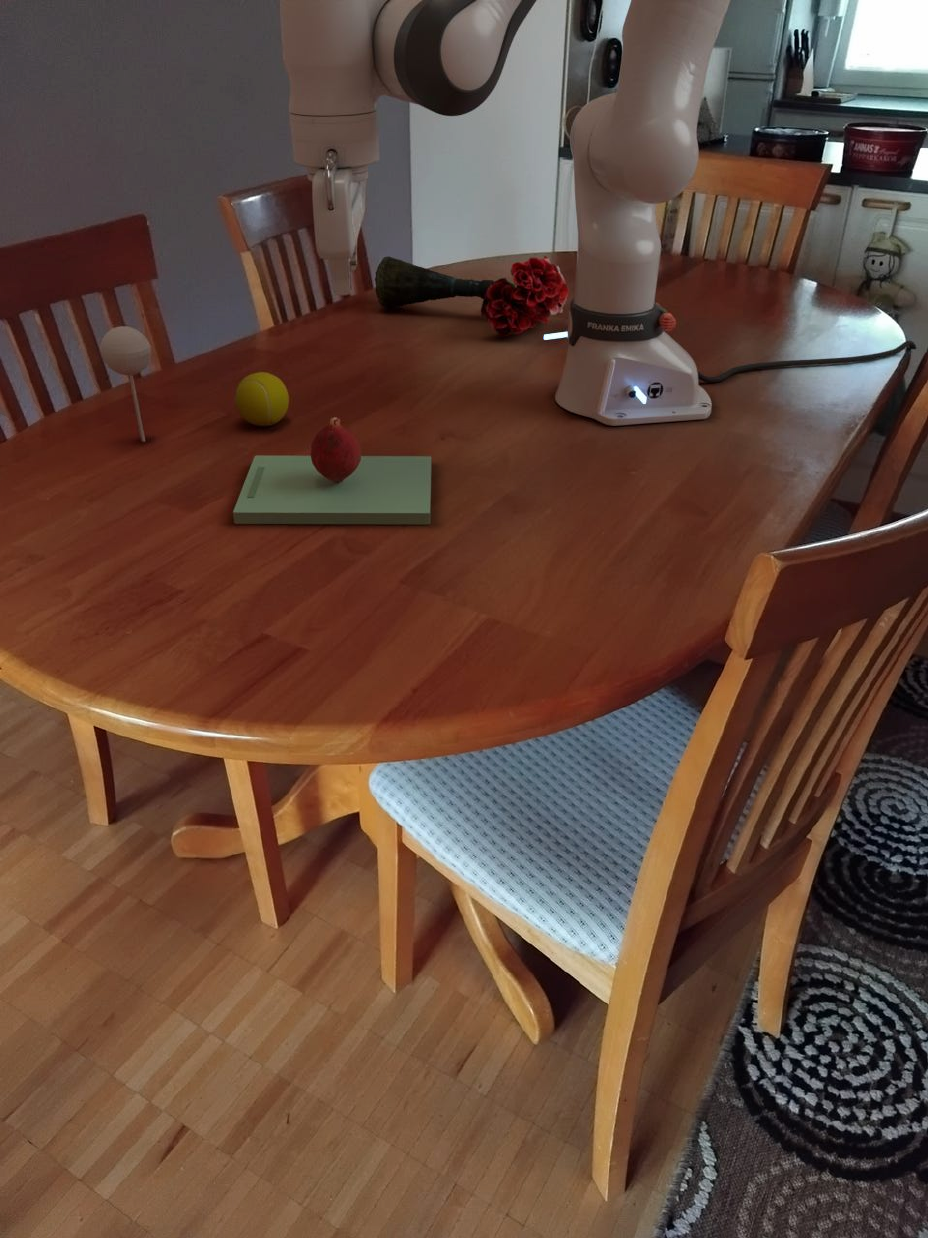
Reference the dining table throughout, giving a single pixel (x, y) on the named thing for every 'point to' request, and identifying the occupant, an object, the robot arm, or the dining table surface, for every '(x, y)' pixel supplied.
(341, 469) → the onion
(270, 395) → the tennis ball
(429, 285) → the carnation
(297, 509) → the cutting board
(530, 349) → the dining table surface
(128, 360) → the lollipop
